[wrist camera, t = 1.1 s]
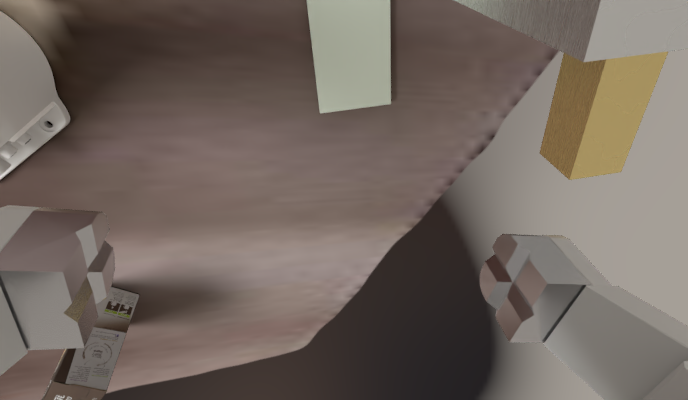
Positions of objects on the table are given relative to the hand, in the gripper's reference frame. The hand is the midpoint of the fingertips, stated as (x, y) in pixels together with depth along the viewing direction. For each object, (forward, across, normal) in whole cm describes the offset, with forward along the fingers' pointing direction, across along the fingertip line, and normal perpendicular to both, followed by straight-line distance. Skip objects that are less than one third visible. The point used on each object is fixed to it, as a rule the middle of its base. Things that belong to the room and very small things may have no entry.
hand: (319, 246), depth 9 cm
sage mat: (+41, +8, -2) cm, 42 cm away
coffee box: (+42, -23, -50) cm, 69 cm away
